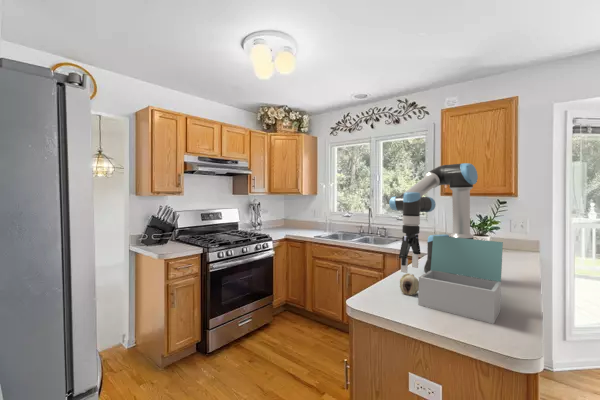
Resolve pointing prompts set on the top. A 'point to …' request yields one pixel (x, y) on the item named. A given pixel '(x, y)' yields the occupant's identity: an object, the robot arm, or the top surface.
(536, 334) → the top surface
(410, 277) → the garlic bulb
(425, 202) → the robot arm
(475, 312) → the gray storage box
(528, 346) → the top surface
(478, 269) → the cover
